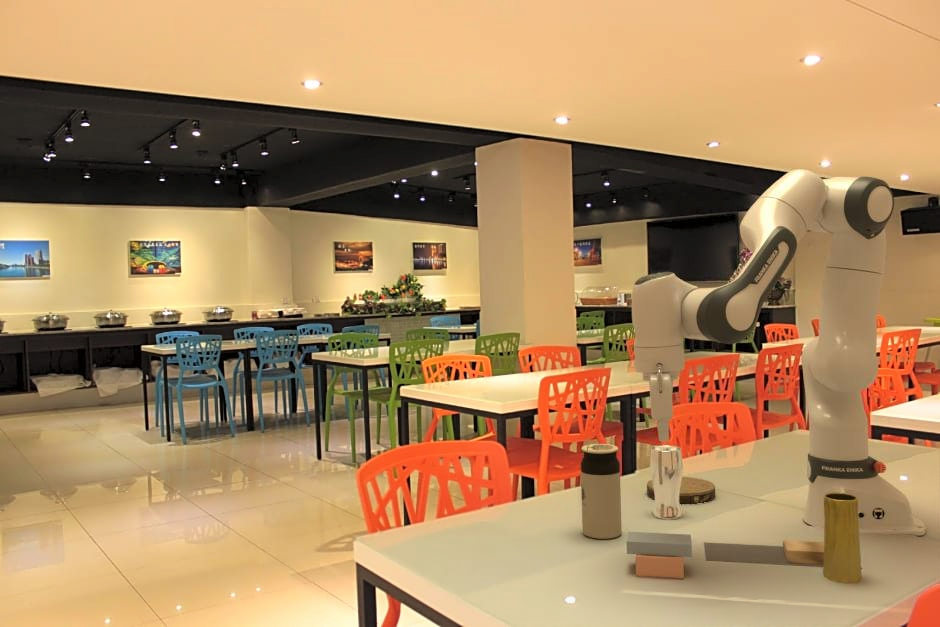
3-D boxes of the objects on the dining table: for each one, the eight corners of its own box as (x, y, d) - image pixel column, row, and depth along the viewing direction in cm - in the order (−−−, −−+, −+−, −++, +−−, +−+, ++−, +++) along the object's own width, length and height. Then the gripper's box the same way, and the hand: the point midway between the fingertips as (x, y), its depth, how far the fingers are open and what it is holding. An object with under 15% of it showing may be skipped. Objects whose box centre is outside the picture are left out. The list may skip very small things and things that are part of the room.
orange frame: (683, 566, 138) (682, 544, 138) (684, 582, 131) (683, 559, 131) (638, 563, 140) (637, 541, 140) (636, 579, 133) (635, 556, 133)
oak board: (847, 555, 139) (847, 543, 139) (854, 566, 134) (854, 553, 134) (783, 552, 142) (782, 540, 142) (787, 562, 137) (787, 550, 137)
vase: (815, 574, 133) (813, 492, 132) (849, 572, 133) (847, 490, 133) (835, 587, 126) (833, 502, 126) (870, 585, 127) (869, 500, 127)
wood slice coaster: (714, 489, 190) (713, 477, 190) (716, 507, 175) (716, 494, 175) (648, 487, 195) (648, 475, 194) (645, 504, 179) (645, 491, 179)
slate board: (691, 546, 137) (690, 534, 137) (691, 557, 131) (691, 544, 131) (628, 543, 140) (628, 531, 139) (626, 553, 134) (626, 541, 134)
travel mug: (624, 529, 160) (621, 444, 160) (618, 541, 153) (616, 452, 152) (586, 526, 163) (584, 442, 162) (579, 538, 155) (576, 450, 155)
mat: (849, 553, 142) (849, 549, 142) (862, 572, 133) (862, 569, 133) (703, 545, 149) (703, 542, 149) (706, 563, 139) (705, 560, 139)
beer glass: (684, 520, 165) (683, 451, 165) (651, 519, 166) (650, 451, 166) (682, 511, 172) (681, 445, 171) (650, 510, 173) (649, 444, 173)
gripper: (678, 366, 130) (683, 447, 130) (676, 355, 150) (680, 425, 150) (640, 368, 131) (645, 448, 132) (643, 356, 151) (647, 426, 151)
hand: (664, 435), depth 141 cm, fingers open, 8 cm apart
